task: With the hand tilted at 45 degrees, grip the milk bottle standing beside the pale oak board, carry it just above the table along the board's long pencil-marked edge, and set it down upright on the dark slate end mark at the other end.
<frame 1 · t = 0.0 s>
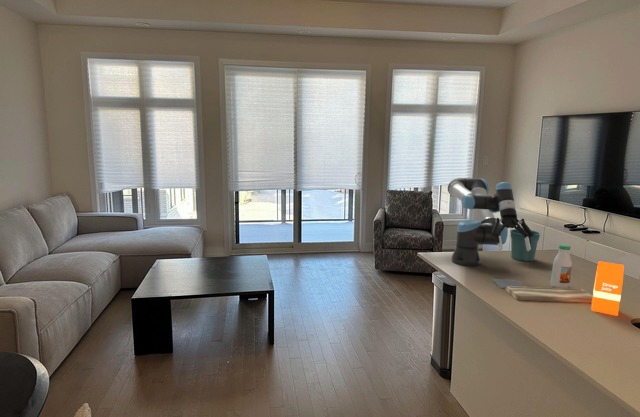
hand: (514, 249, 205), 15 cm above the table, tool tilted 35°, fingers open, 13 cm apart
end mark: (508, 284, 200), on the table
flower pot: (522, 258, 247), on the table
orange juice: (604, 310, 172), on the table
oak board: (549, 296, 186), on the table
milk bottle: (559, 286, 200), on the table
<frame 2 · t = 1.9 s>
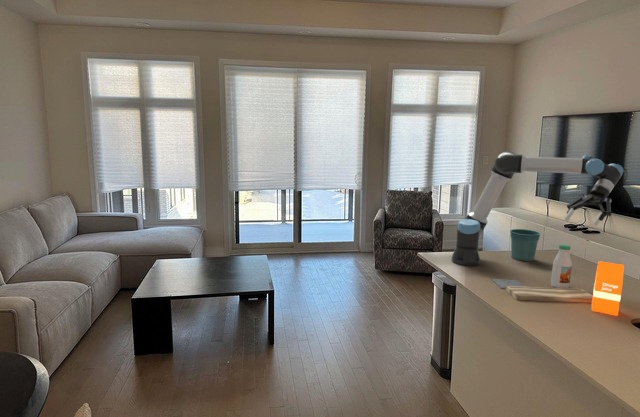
hand: (580, 222, 203), 30 cm above the table, tool tilted 45°, fingers open, 13 cm apart
nothing on the table moved.
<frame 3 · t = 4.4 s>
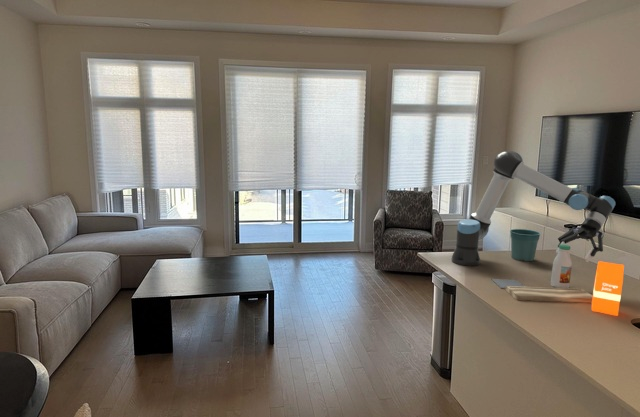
hand: (571, 256, 199), 14 cm above the table, tool tilted 45°, fingers open, 13 cm apart
nothing on the table moved.
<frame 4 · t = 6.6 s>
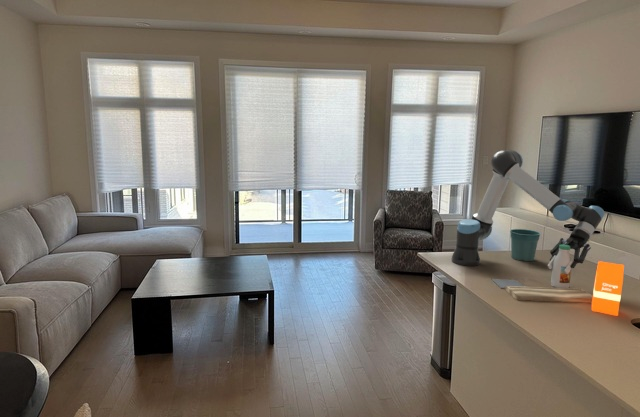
hand: (557, 269, 197), 9 cm above the table, tool tilted 45°, fingers closed on milk bottle, 7 cm apart
milk bottle: (559, 286, 200), on the table, touching gripper
everything else where it was.
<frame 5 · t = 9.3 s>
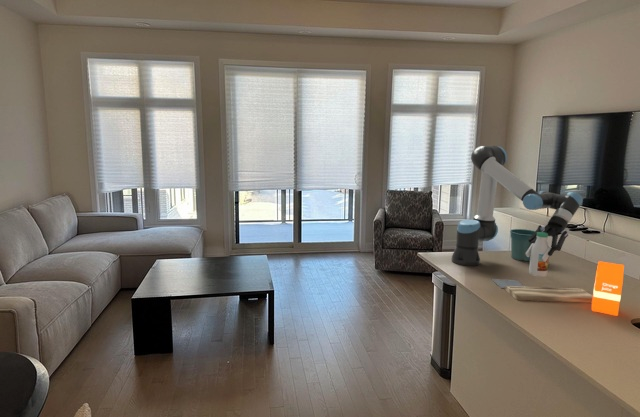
hand: (535, 257, 194), 15 cm above the table, tool tilted 45°, fingers closed on milk bottle, 7 cm apart
milk bottle: (537, 274, 197), point 6 cm above the table, touching gripper
everything else where it was.
when the fingers open (10 cm above the table, at t = 12.1 s): milk bottle drops 1 cm, resting on end mark.
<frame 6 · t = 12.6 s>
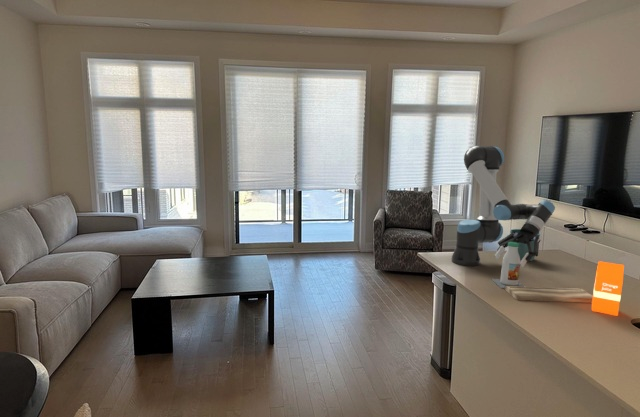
hand: (508, 261, 197), 12 cm above the table, tool tilted 45°, fingers open, 13 cm apart
milk bottle: (508, 283, 200), resting on end mark
everything else where it was.
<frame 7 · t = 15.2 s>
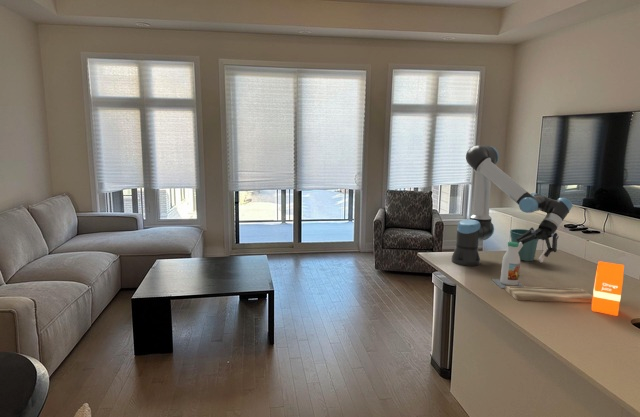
hand: (526, 256, 203), 12 cm above the table, tool tilted 45°, fingers open, 13 cm apart
nothing on the table moved.
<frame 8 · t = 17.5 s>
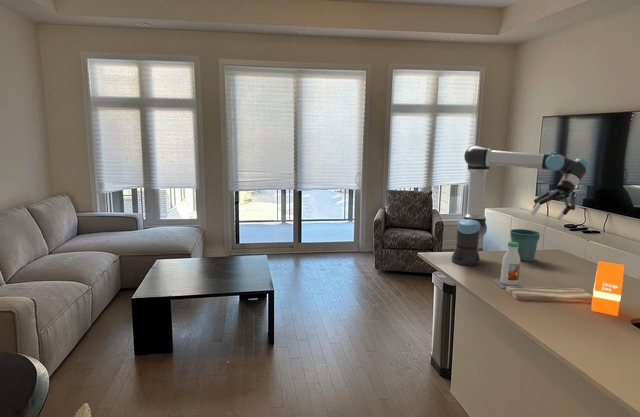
hand: (545, 216, 205), 32 cm above the table, tool tilted 45°, fingers open, 13 cm apart
nothing on the table moved.
at the end: milk bottle inside the target area (0.2 cm from its centre), resting on end mark; milk bottle tilted 0°; the gripper is holding nothing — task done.
